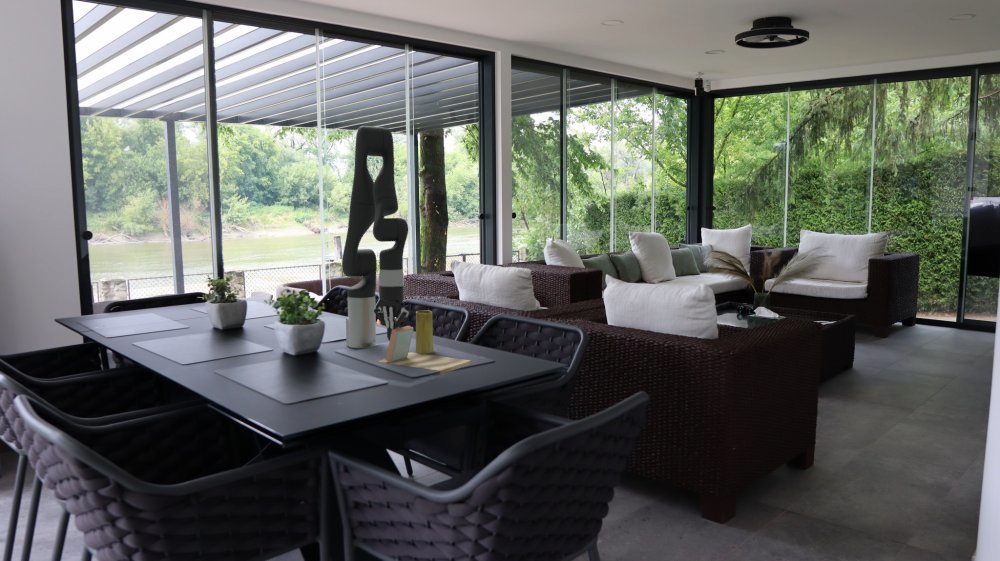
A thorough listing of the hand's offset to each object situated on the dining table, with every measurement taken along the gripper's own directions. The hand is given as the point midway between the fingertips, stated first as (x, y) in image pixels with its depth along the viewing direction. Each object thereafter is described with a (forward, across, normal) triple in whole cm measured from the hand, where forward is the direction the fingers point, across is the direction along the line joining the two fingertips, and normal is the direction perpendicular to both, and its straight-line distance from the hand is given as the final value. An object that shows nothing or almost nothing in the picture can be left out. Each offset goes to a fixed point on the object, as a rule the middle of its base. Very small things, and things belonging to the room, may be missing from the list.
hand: (392, 340), depth 223 cm
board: (+7, +9, +3) cm, 12 cm away
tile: (+6, +1, 0) cm, 6 cm away
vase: (+7, +1, +14) cm, 16 cm away
